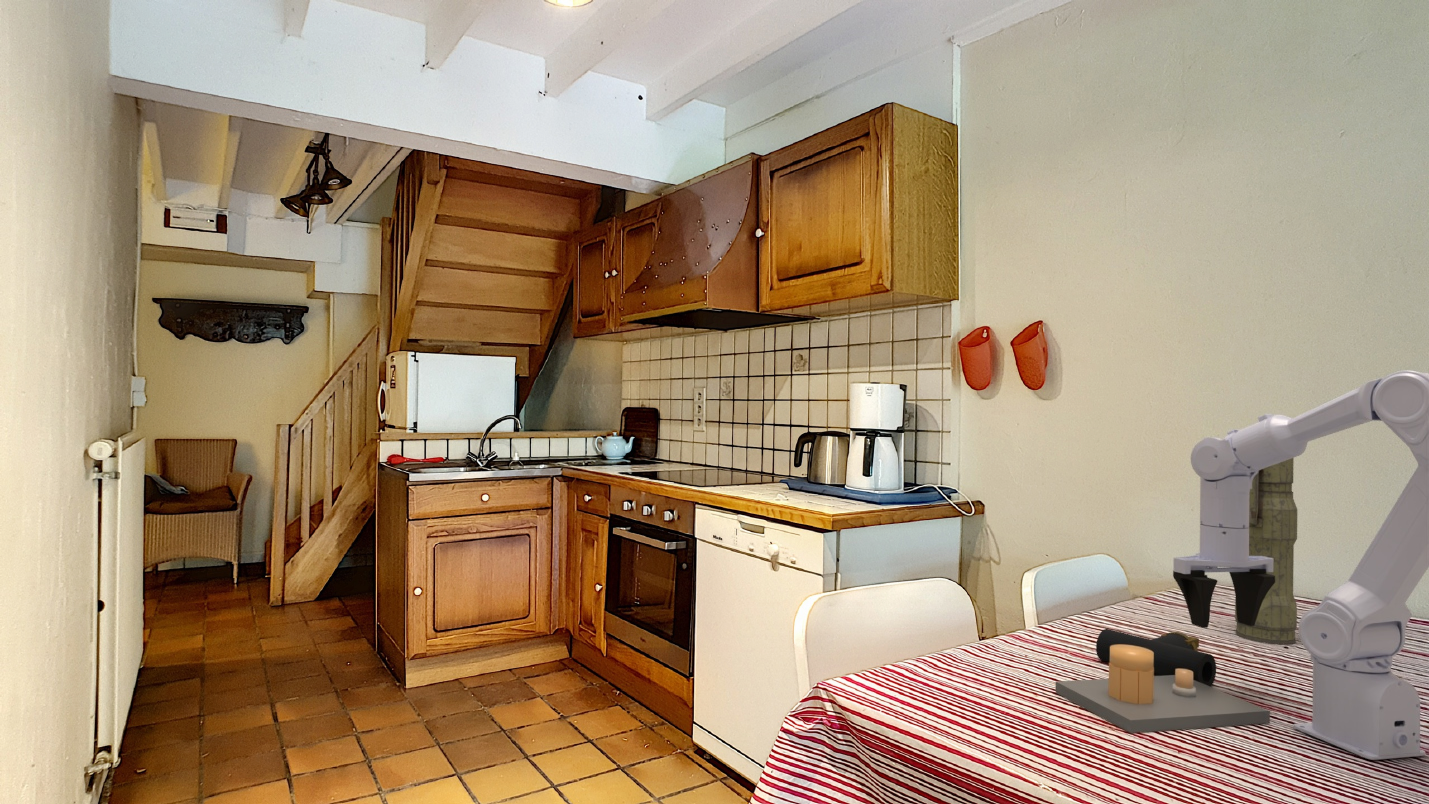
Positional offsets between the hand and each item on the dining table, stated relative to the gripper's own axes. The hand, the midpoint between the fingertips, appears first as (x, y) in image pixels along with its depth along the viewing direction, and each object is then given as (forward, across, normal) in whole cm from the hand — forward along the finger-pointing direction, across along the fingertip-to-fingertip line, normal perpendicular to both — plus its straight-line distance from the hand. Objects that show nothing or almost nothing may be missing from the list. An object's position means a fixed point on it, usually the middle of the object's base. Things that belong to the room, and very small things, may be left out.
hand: (1223, 625), depth 109 cm
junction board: (+9, +13, +3) cm, 16 cm away
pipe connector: (+10, -1, -11) cm, 15 cm away
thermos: (+10, -33, -24) cm, 42 cm away
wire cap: (+8, +17, +3) cm, 19 cm away
